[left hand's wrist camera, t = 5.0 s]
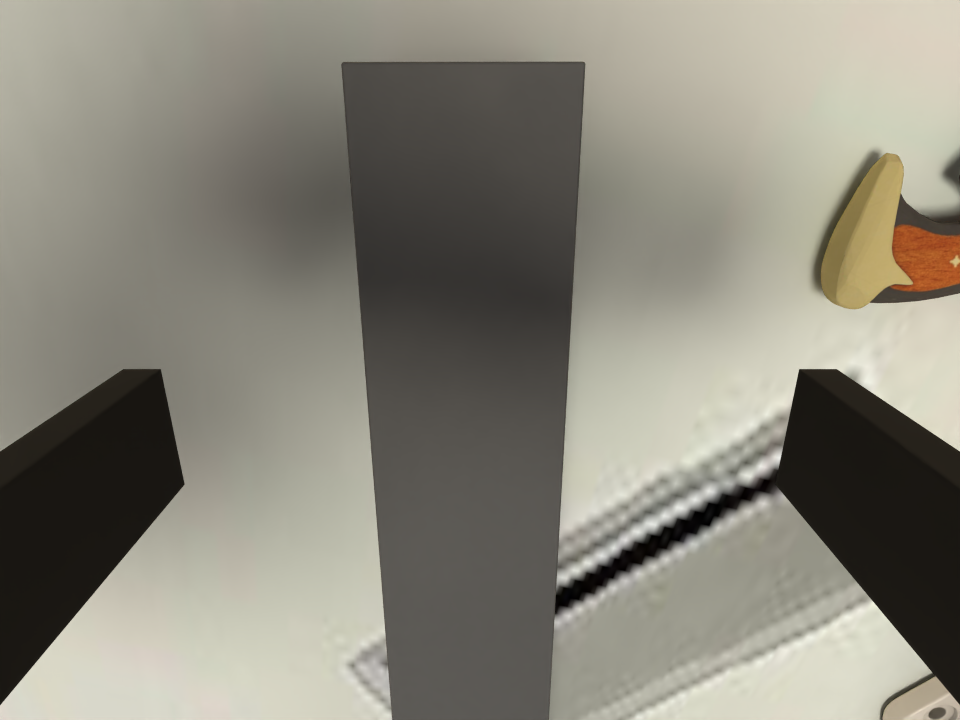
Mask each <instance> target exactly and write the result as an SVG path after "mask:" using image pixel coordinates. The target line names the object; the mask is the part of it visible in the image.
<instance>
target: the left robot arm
mask: <svg viewBox="0 0 960 720" xmlns="http://www.w3.org/2000/svg"><path fill="white" fill-rule="evenodd" d="M183 486H184V480H183V475H182V470H181V465H180V460H179V455H178V451H177V446H176V441H175V436H174V431H173V426H172V422H171V417H170V412H169V407H168V402H167V397H166V393H165V388H164V383H163V378H162V373H161V369H123V370H122V371H120V372H119V373H117V374H116V375H114V376H113V377H111V378H110V379H108V380H107V381H105V382H104V383H102V384H101V385H99V386H98V387H96V388H95V389H93V390H92V391H90V392H89V393H87V394H86V395H84V396H83V397H81V398H80V399H78V400H77V401H75V402H74V403H72V404H71V405H69V406H68V407H66V408H65V409H63V410H62V411H60V412H59V413H57V414H56V415H54V416H53V417H51V418H50V419H48V420H47V421H45V422H44V423H42V424H41V425H39V426H38V427H36V428H35V429H33V430H32V431H30V432H29V433H27V434H26V435H24V436H23V437H21V438H20V439H18V440H17V441H15V442H14V443H12V444H11V445H9V446H8V447H6V448H5V449H3V450H2V451H0V705H1V704H2V702H3V701H4V700H5V699H6V698H7V696H8V695H9V694H10V693H11V692H12V690H13V689H14V688H15V687H16V686H17V684H18V683H19V682H20V681H21V680H22V678H23V677H24V676H25V675H26V674H27V672H28V671H29V670H30V669H31V668H32V666H33V665H34V664H35V663H36V662H37V660H38V659H39V658H40V657H41V656H42V654H43V653H44V652H45V651H46V650H47V648H48V647H49V646H50V645H51V644H52V642H53V641H54V640H55V639H56V638H57V636H58V635H59V634H60V633H61V632H62V630H63V629H64V628H65V627H66V626H67V625H68V623H69V622H70V621H71V620H72V619H73V617H74V616H75V615H76V614H77V613H78V611H79V610H80V609H81V608H82V607H83V605H84V604H85V603H86V602H87V601H88V599H89V598H90V597H91V596H92V595H93V593H94V592H95V591H96V590H97V589H98V587H99V586H100V585H101V584H102V583H103V581H104V580H105V579H106V578H107V577H108V575H109V574H110V573H111V572H112V571H113V569H114V568H115V567H116V566H117V565H118V563H119V562H120V561H121V560H122V559H123V557H124V556H125V555H126V554H127V553H128V552H129V550H130V549H131V548H132V547H133V546H134V544H135V543H136V542H137V541H138V540H139V538H140V537H141V536H142V535H143V534H144V532H145V531H146V530H147V529H148V528H149V526H150V525H151V524H152V523H153V522H154V520H155V519H156V518H157V517H158V516H159V514H160V513H161V512H162V511H163V510H164V508H165V507H166V506H167V505H168V504H169V502H170V501H171V500H172V499H173V498H174V496H175V495H176V494H177V493H178V492H179V490H180V489H181V488H182V487H183ZM776 486H777V487H778V488H779V489H780V490H781V492H782V493H783V494H784V495H785V496H786V498H787V499H788V500H789V501H790V502H791V504H792V505H793V506H794V507H795V508H796V510H797V511H798V512H799V513H800V514H801V516H802V517H803V518H804V519H805V520H806V522H807V523H808V524H809V525H810V526H811V528H812V529H813V530H814V531H815V532H816V534H817V535H818V536H819V537H820V538H821V540H822V541H823V542H824V543H825V544H826V546H827V547H828V548H829V549H830V550H831V552H832V553H833V554H834V555H835V556H836V557H837V559H838V560H839V561H840V562H841V563H842V565H843V566H844V567H845V568H846V569H847V571H848V572H849V573H850V574H851V575H852V577H853V578H854V579H855V580H856V581H857V583H858V584H859V585H860V586H861V587H862V589H863V590H864V591H865V592H866V593H867V595H868V596H869V597H870V598H871V599H872V601H873V602H874V603H875V604H876V605H877V607H878V608H879V609H880V610H881V611H882V613H883V614H884V615H885V616H886V617H887V619H888V620H889V621H890V622H891V623H892V625H893V626H894V627H895V628H896V629H897V630H898V632H899V633H900V634H901V635H902V636H903V638H904V639H905V640H906V641H907V642H908V644H909V645H910V646H911V647H912V648H913V650H914V651H915V652H916V653H917V654H918V656H919V657H920V658H921V659H922V660H923V662H924V663H925V664H926V665H927V666H928V668H929V669H930V670H931V671H932V672H933V674H934V675H935V676H936V677H937V678H938V680H939V681H940V682H941V683H942V684H943V686H944V687H945V688H946V689H947V690H948V692H949V693H950V694H951V695H952V696H953V698H954V699H955V700H956V701H957V702H958V704H959V705H960V451H958V450H957V449H955V448H954V447H952V446H951V445H949V444H948V443H946V442H945V441H943V440H942V439H940V438H939V437H937V436H936V435H934V434H933V433H931V432H930V431H928V430H927V429H925V428H924V427H922V426H921V425H919V424H918V423H916V422H915V421H913V420H912V419H910V418H909V417H907V416H906V415H904V414H903V413H901V412H900V411H898V410H897V409H895V408H894V407H892V406H891V405H889V404H888V403H886V402H885V401H883V400H882V399H880V398H879V397H877V396H876V395H874V394H873V393H871V392H870V391H868V390H867V389H865V388H864V387H862V386H861V385H859V384H858V383H856V382H855V381H853V380H852V379H850V378H849V377H847V376H846V375H844V374H843V373H841V372H840V371H838V370H837V369H799V373H798V378H797V383H796V388H795V393H794V397H793V402H792V407H791V412H790V417H789V422H788V426H787V431H786V436H785V441H784V446H783V451H782V455H781V460H780V465H779V470H778V475H777V480H776Z"/></svg>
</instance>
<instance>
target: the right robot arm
mask: <svg viewBox="0 0 960 720" xmlns="http://www.w3.org/2000/svg"><path fill="white" fill-rule="evenodd" d="M883 720H960V705H959V704H958V702H957V701H956V700H955V699H954V698H953V696H952V695H951V694H950V693H949V692H948V690H947V689H946V688H945V687H944V686H943V684H942V683H941V682H940V681H939V680H938V678H937V677H936V676H935V677H933V678H932V679H930V680H928V681H926V682H924V683H923V684H921V685H919V686H917V687H915V688H914V689H912V690H910V691H908V692H906V693H905V694H903V695H901V696H899V697H898V698H896V699H894V700H893V701H892V702H890V703H889V704H888V705H887V707H886V708H885V710H884V713H883Z"/></svg>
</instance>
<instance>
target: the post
mask: <svg viewBox="0 0 960 720" xmlns="http://www.w3.org/2000/svg"><path fill="white" fill-rule="evenodd" d="M342 78H343V91H344V104H345V117H346V129H347V142H348V155H349V168H350V181H351V194H352V207H353V220H354V233H355V245H356V258H357V271H358V284H359V297H360V310H361V323H362V336H363V348H364V361H365V374H366V387H367V400H368V413H369V426H370V439H371V452H372V464H373V477H374V490H375V503H376V516H377V529H378V542H379V555H380V567H381V580H382V593H383V606H384V619H385V632H386V645H387V658H388V671H389V683H390V696H391V709H392V720H549V704H550V686H551V668H552V650H553V633H554V615H555V597H556V579H557V561H558V543H559V525H560V507H561V489H562V472H563V454H564V436H565V418H566V400H567V382H568V364H569V346H570V328H571V310H572V293H573V275H574V257H575V239H576V221H577V203H578V185H579V167H580V149H581V132H582V114H583V96H584V78H585V62H343V63H342Z"/></svg>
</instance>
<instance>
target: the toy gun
mask: <svg viewBox="0 0 960 720" xmlns="http://www.w3.org/2000/svg"><path fill="white" fill-rule="evenodd" d="M903 175H904V172H903V164H902V162H901V160H900V158H899V156H898V155H895V154H890V153H886V154H884V155H883V156H882V157H881V158H880V159H879V160H878V161H877V162H876V163H875V164H874V165H873V166H872V167H871V168H870V170H869V171H868V173H867V175H866V176H865V178H864V179H863V181H862V182H861V184H860V185H859V187H858V188H857V190H856V192H855V194H854V195H853V197H852V199H851V200H850V202H849V204H848V206H847V207H846V209H845V211H844V213H843V214H842V216H841V218H840V220H839V221H838V223H837V225H836V227H835V229H834V231H833V234H832V236H831V238H830V241H829V244H828V246H827V249H826V252H825V255H824V259H823V262H822V267H821V284H822V289H823V292H824V294H825V296H826V297H827V299H828V300H830V301H831V302H832V303H834V304H836V305H839V306H841V307H844V308H848V309H859V308H862V307H864V306H866V305H867V304H868V303H899V302H911V301H921V300H927V299H934V298H939V297H944V296H949V295H954V294H958V293H960V222H942V223H937V222H935V221H932V220H930V219H928V218H927V217H925V216H923V215H921V214H919V213H918V212H917V211H916V210H914V209H913V208H912V207H911V206H909V205H908V204H907V203H906V202H905V200H904V199H903V197H902V195H901V188H902V182H903ZM959 181H960V176H959Z"/></svg>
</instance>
